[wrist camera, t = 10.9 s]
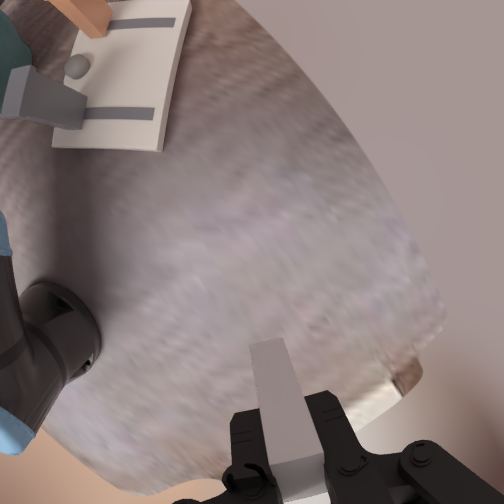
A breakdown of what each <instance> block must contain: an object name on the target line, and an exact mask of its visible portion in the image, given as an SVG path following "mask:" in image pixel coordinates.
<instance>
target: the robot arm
mask: <svg viewBox="0 0 504 504" xmlns="http://www.w3.org/2000/svg"><path fill="white" fill-rule="evenodd" d="M11 256H12V250H11V249H10V244H9V237H8V230H7V223H6V219H5V216H4V214H3V213H2V212H1V211H0V452H1V453H4V454H7V455H19V454H20V453H22V452H23V451H24V450H25V449H26V447H27V446H28V444H29V443H30V441H31V440H32V439H34V438H35V436H36V433H37V431H38V430H39V428H40V426H41V424H42V423H43V421H44V419H45V417H46V416H47V414H48V412H49V411H50V409H51V407H52V405H53V404H54V402H55V400H56V399H57V397H58V396H59V394H60V392H61V391H62V389H63V388H64V386H65V385H67V384H68V383H70V382H72V381H73V380H75V379H77V378H79V377H80V376H82V375H84V374H85V373H86V372H88V371H89V369H90V368H91V367H92V365H93V364H94V362H95V361H96V359H97V357H98V355H99V351H100V336H99V331H98V328H97V325H96V323H95V320H94V318H93V316H92V315H91V313H90V311H89V310H88V308H87V307H86V306H85V305H84V303H83V302H82V301H81V300H80V299H79V298H78V297H77V296H76V295H75V294H73V293H72V292H71V291H69V290H68V289H66V288H64V287H62V286H60V285H58V284H55V283H50V282H41V283H37V284H35V285H33V286H31V287H30V288H28V289H27V290H25V291H24V292H23V293H22V294H21V295H20V296H19V298H18V294H17V289H16V284H15V278H14V272H13V265H12V257H11ZM249 347H250V353H251V360H252V366H253V372H254V378H255V384H256V390H257V396H258V402H259V408H258V409H253V410H248V411H243V412H238V413H235V414H234V416H233V418H232V420H231V422H230V435H231V436H230V438H231V455H232V465H231V466H229V467H228V468H227V469H226V471H225V472H224V473H223V476H222V482H223V484H224V486H225V487H226V489H227V490H226V491H225V492H224V493H222V494H220V495H218V496H216V497H214V498H211V499H209V500H206V501H203V502H199V501H196V500H193V499H181V500H178V501H175V502H174V503H172V504H284V502H289V501H293V500H298V499H302V498H306V497H310V496H314V495H318V494H321V493H325V492H327V491H328V494H329V497H330V501H331V504H504V495H502V494H501V493H500V492H498V491H497V490H496V489H494V488H493V487H492V486H490V485H489V484H488V483H486V482H485V481H484V480H483V479H481V478H480V477H479V476H477V475H476V474H475V473H474V472H472V471H471V470H470V469H468V468H467V467H466V466H464V465H463V464H462V463H461V462H459V461H458V460H457V459H455V458H454V457H453V456H452V455H450V454H449V453H448V452H447V451H445V450H444V449H443V448H442V447H441V446H439V445H438V444H436V443H434V442H432V441H429V440H419V441H415V442H413V443H411V444H409V445H408V446H407V447H406V448H405V449H404V450H403V451H402V452H399V453H392V454H384V455H378V454H373V453H370V452H368V451H366V450H365V449H364V448H363V447H362V446H361V445H360V443H359V441H358V439H357V437H356V435H355V433H354V431H353V429H352V427H351V425H350V423H349V421H348V419H347V416H346V415H345V412H344V410H343V409H342V406H341V404H340V402H339V400H338V398H337V397H336V396H335V395H333V394H332V393H331V392H329V391H328V390H326V391H323V392H319V393H316V394H312V395H309V396H305V397H304V396H303V393H302V390H301V388H300V385H299V382H298V379H297V377H296V374H295V371H294V368H293V365H292V363H291V360H290V357H289V354H288V352H287V349H286V346H285V343H284V340H283V338H278V339H274V340H270V341H266V342H261V343H257V344H253V345H249Z"/></svg>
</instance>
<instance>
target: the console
mask: <svg viewBox="0 0 504 504" xmlns="http://www.w3.org/2000/svg"><path fill="white" fill-rule="evenodd" d="M107 4H108V5H109V7H110V8H111V9H112V11H113V13H112V16H111V19H110V22H109V25H108V28H107V31H106V34H105V37H102V38H93V39H90V38H89V37H88V36H87V35H86V34H85V33H84V32H83V31H81V30H80V29H79V31H78V34H77V37H76V40H75V43H74V46H73V49H72V53H71V56H70V58H69V59H68V60H67V62H66V63H65V66H64V73H65V78H64V82H63V84H64V85H66V86H68V87H70V88H72V89H74V90H76V91H78V92H80V93H81V94H83V95H85V96H87V97H88V98H87V103H86V108H85V113H84V119H83V124H82V130H66V129H62V128H57V127H54V132H53V139H52V146H51V147H55V148H82V149H117V150H136V151H152V152H162V151H163V144H164V137H165V131H166V125H167V119H168V113H169V108H170V102H171V97H172V92H173V87H174V82H175V77H176V72H177V68H178V63H179V59H180V55H181V50H182V46H183V42H184V38H185V34H186V30H187V27H188V23H189V19H190V16H191V12H192V6H191V2H190V0H129V1H119V2H111V3H107Z"/></svg>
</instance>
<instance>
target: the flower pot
mask: <svg viewBox="0 0 504 504" xmlns="http://www.w3.org/2000/svg"><path fill="white" fill-rule="evenodd" d="M28 65H32V52H31V50H30V48H29V46H28V45H27V44H25V43H24V42H23V41H22V39H21V37H20V36H19V33H18V31H17V29H16V27H15V26H14V24H13V23H12V21H11V20H10V19H9V17H8V16H7V15H6V14H5V13H4V12H3V11H1V10H0V114H1V111H2V106H3V101H4V97H5V92H6V88H7V84H8V80H9V76H10V73H11V69H15V68H19V67H23V66H28Z"/></svg>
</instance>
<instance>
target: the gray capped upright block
mask: <svg viewBox="0 0 504 504" xmlns="http://www.w3.org/2000/svg"><path fill="white" fill-rule="evenodd" d="M36 69H37V68H36V67H34V66H32V65H28V66H23V67H19V68H15V69H11V73H10V76H9V80H8V84H7V88H6V92H5V97H4V101H3V106H2V111H1V116H0V119H6V120H8V119H20V120H25V121H30V122H35V123H39V124H44V125H48V126H53V127H57V128H62V129H66V130H82V124H83V119H84V113H85V108H86V103H87V98H88V97H87V96H85V95H83V94H81V93H80V92H78V91H76V90H74V89H72V88H70V87H68V86H66V85H64V84H62V83H60V82H58V81H56V80H54V79H52V78H50V77H48V76H46V75H43V74H41V73H39V72H37V71H36Z"/></svg>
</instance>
